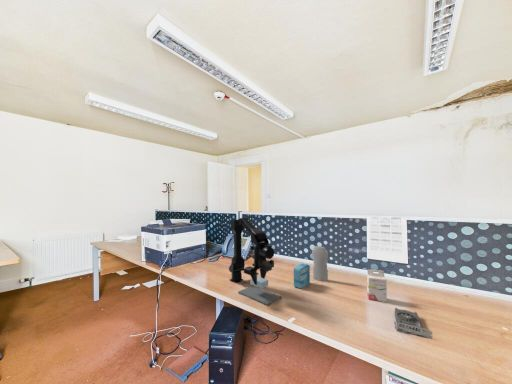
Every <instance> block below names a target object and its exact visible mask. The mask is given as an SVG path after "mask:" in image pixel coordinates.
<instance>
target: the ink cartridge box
mask: <svg viewBox="0 0 512 384" xmlns="http://www.w3.org/2000/svg"><path fill="white" fill-rule="evenodd" d="M366 276H367V277H366V280H367V281H366V286H367V287H366V288H367V289H366V291H367V292H366V293H367V294H366V295H367V298H368V300H370V301H375V302H376V301H378V302H384V303H387V302H388V298H387V297H388V294H387V292H388V291H387V289H388V287H387V283H388V282H387V281H388V280H387V278H386V277H385V271H384V270H379V269H367V275H366Z"/></svg>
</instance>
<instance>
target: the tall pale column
mask: <svg viewBox="0 0 512 384" xmlns="http://www.w3.org/2000/svg"><path fill="white" fill-rule="evenodd" d="M311 257H312V261H313V266H312V278H313V280H316V281H321V282H328V280H329V278H328V275H329V274H328V259H329V252H328V251H327V248H326V247H324V246H321V245H314V246H313V250H312V251H311Z"/></svg>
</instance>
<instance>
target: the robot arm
mask: <svg viewBox="0 0 512 384" xmlns="http://www.w3.org/2000/svg"><path fill="white" fill-rule="evenodd" d="M244 229H245V230H246V231H247V233H248V234H249V235H250V240H251V241H252V244H251V245H252V246H253V256H252V257H251V258H252V259H253V263H251V264H252V266H250V265H248V266H246V267H245V265H246V263H245V258H243V254H242V251H243V250H242V233H243V231H244ZM230 230H231V231H232V233H233V257H232V259H231V262H230V265H229V266H228V272H230V274H231V278H230V279H229V281H230V282H233V283H239V282H242V281H244V278H242V277H243V276H242V272H243V274H246V275H249V276H250V277H251V278H252V280H253V282H254V284H255V285H256V284H257V276H258V275H259V273H260V277H261V278H264V279H266V275H267V273H268V272H270V271H272V270H273V268H274V267H275V261H274V260H273V258H274V256H275V251H274V249H273V248H272V246H271V245H270V243H269V242H270V241H269V240H268V238H267V235H266V233H265V232H264V231H262V230H261V229H258V228H257V227H256V226H255V225H253V223H252V222H251V221H250V220H249V218H248V217H240V218H237V219H235V220H232V221H230ZM258 271H259V272H258Z"/></svg>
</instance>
